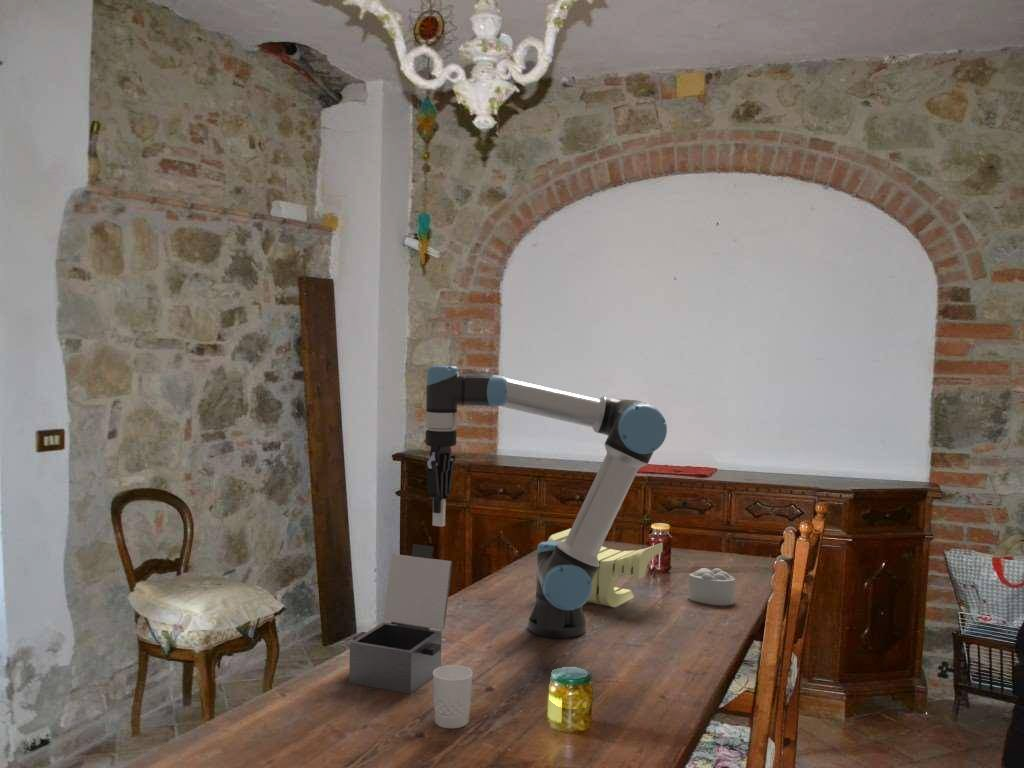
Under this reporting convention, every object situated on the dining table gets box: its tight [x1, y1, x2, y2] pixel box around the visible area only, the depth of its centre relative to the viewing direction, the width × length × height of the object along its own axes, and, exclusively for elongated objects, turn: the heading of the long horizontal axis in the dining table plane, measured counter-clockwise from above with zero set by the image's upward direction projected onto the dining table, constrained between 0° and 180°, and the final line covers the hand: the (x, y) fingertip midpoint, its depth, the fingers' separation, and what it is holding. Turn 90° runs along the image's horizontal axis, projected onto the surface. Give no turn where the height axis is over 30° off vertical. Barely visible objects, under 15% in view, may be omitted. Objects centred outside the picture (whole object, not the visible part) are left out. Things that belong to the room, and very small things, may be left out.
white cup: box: [432, 664, 474, 730], centre depth 176 cm, size 8×8×10 cm
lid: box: [382, 543, 453, 631], centre depth 208 cm, size 15×19×2 cm
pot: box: [348, 621, 443, 695], centre depth 199 cm, size 20×15×9 cm
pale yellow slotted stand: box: [546, 527, 664, 608], centre depth 261 cm, size 30×16×18 cm, turn 57°
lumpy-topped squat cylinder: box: [687, 567, 736, 606], centre depth 264 cm, size 10×13×9 cm
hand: (438, 525), depth 217 cm, fingers closed
